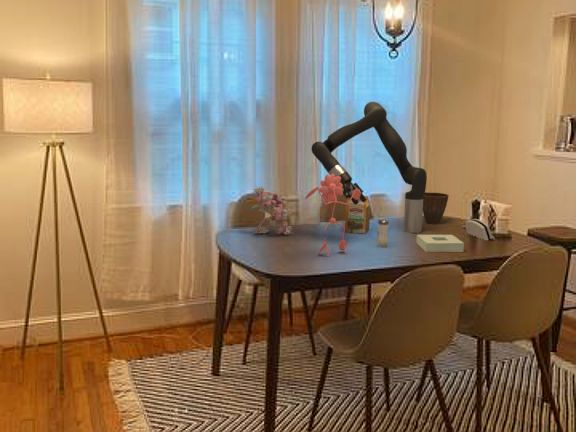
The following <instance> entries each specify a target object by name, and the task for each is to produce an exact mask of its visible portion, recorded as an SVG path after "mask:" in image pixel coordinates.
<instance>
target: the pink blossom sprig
mask: <svg viewBox="0 0 576 432" xmlns="http://www.w3.org/2000/svg"><path fill="white" fill-rule="evenodd" d="M340 181H341V177H340V176H337V177H335V175H334V174H332V175H329V173H328V174H325V175H324V179H321V180H320V183H319V184H320V186H321V187H320V188H319V186H316V187H314V188H312V189H311V191H309V192H308V193H307V194H306V196H305V197H304V200H307V199H309V198H310V197H312V195H314V194H315V193H316V192H317V191H318V194H319V195H320V198H321V201H322V202H323V204H324V205H329V204H333V203H334V204H333V207H332V213H331V218H330V219H329V221H328V223H327V225H326V226H325V228H324V230H326V229H327V228H328V226H329V224H331V225H334V224H336V223H337V224H339V225H340V226H343V233H342V240H340V242H339V244H338V249H340V250H341V251H342V252H343V251H344V254H345V255H347V250H346V247H347V245H348V243H347V240H345V237H344V236H345V224H342V223H340V222H338V221H337V220H336V218H334V217H333V216H334V213H335V208H336V205H337V203H338V204H342V205H345V206H346V205H348V204H349V202H350V201H351V199H352V198H354V199H356V200H357V199H358V198H359V197H360V195H361V193H360V191H359V190H357V189H356V190H354V191H353V192H352V197H351V198H350V200H349V202H348V203H347V204H346V203H345V202H342V201H338V196H344V194H343V191H342V189H341V188H342V187H343V185H342V184H341V183H340ZM325 199H326V201H327V202H325ZM323 239H324V241H323V242H324V243H323V245H322V246H320V248H321V249H319V251H318V255H320V254H321V253H322V252H323V251H324V249H325V251H326V255H327V257H328V256H329V257H330V255H329V254H330V253H329V250H328V247H327V245H328V241H326V238H323Z"/></svg>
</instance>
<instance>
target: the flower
mask: <svg viewBox="0 0 576 432" xmlns="http://www.w3.org/2000/svg"><path fill="white" fill-rule="evenodd" d="M265 190H266V189H265V187H263V186H259V187H258V186H255V188H254V189H253V193H254V194H255V197H254V203H261V204H254V205H253V206H252V208H251V209H256V208H259V210H258V212H263V213H262V216H261V219H260V222H259V223H258V226H257V227H256V229H255V230H254V232H253V233H256V234H261V233H267V232H268V233H269V232H270V230H269V229H268V228H270V227H276V226H277V222H278V223H281V222H282V225H283V226H282V225H280V224H278V231H277V233H278V234H282V233H283V234H284V235H285V234H286V235H285V236H288V235H290V233H291V234H292V235H293V234H294V232H291V231H292V229H293V226H291V225H289V226H288V221H286V220H287V219H288V217H290V215H292V214H293V213H292V212H291V211H290V209H289V207H288V206H285V205H287V203H288V198H287V196H284V195H283V193H280V194H279V195H278V194H277V193H271V194H270V193H269V192H268V191H265ZM262 201H263V202H262ZM271 209H272V210H273V212H271ZM270 217H271V218H270ZM284 219H285V220H284ZM265 221H268V222H269V224H268V225H267V226H265V227H262V225H264V223H265ZM268 233H267V234H268ZM287 234H288V235H287Z"/></svg>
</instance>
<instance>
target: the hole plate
mask: <svg viewBox="0 0 576 432" xmlns="http://www.w3.org/2000/svg"><path fill="white" fill-rule="evenodd" d="M416 244H417V245H418V246H419V247H420V248H421V249H422V250H424V252H426V253H464V247H465V243H464V242H463V241H462V240H460V239H459V238H458V237H456V236H455V235H454V234H416Z"/></svg>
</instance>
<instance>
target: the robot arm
mask: <svg viewBox="0 0 576 432" xmlns="http://www.w3.org/2000/svg"><path fill="white" fill-rule="evenodd" d="M363 115H364V116H363V117H362V118H361V119H358V120H357V121H355V122H353V123H349V124H347V125H344V126H342V127H340V128H338V129H336V130H335V131H333V132H332V133H330V134H329V135H328V136H327V139H326V140H324V141H316V142H314V143H313V144H312V145H311V153H312V154H313V155H314V157H315V158H316V160H318V161H319V162H320V163H321V164H322V167H323V169H325V171H326V172H327V173H328V175H329V176H330V175H332V174H334V175H335V177H337V176H340V177H341V181H340V183H341V184H342V185H343V187H342V188H341V189H342V191H343V196H344V198H346V199H348V198H349V199H350V198H351V197H352V192H353V191H354V190H356V189H357V190H359V191H360V193H361V195H360V197H359V198H360V199H361V201H362V202H363V203H364V202H365V201H366V200H367V199H366V198H365V197H364V196H365V195H364V194H363V193H364V190H363V189H362V188H361V186H359V185H358V183H357V182H354V183H353V182H352V180H353V177H352V176H351V175H350V174H349V172H348V171H347V170H346V169H345V168H344V166H343V165H341V163H340V162H339V161H338V160H337V158H336V157H335V156H334V155H333V154H332V152H334V151H335V150H336V149H337V148H339V147H340V146H342V145H343V144H345V143H346V142H348V141H349V140H351V139H353V138H354V137H356V136H358V135H360V134H362V133H363V132H365V131H368V130H370V129H372V128H374V130H375V132H376V134H377V135H378V137H379V140H380V141H381V143H382V145H383V147H384V149H385V150H386V152H387V153H388V155H389V157H390V158H391V159H392V161H393V163H394V164H395V166H396V168H397V170H398V173H400V176H401V178H402V180H403V182H405V184H407V185H411V189H410V190H409V191H407V192H405V194H404V195H405V196H404V211H403V212H404V214H403V232H404V233H410V234H418V233H419V234H420V233H422V231H423V230H422V229H423V216H424V214H423V197H424V194H425V193H426V190H427V181H428V179H427V178H428V177H427V175H428V174H427V172H426V170H425V169H424V168H421V167H417V166H413V165H412V164H411V162H410V161H409V158H408V157H407V154H408V152H407V151H408V149H407V145H406V144H405V142H404V140H403V138H402V137H401V135H400V134H399V132H397V130H396V129H395V127H393V125H392V124H391V123H390V121H389V120H388V119H387V115H388V114H387V110H386V109H385V108H384V107H383V105H381V104H380V103H379V102H376V101H369V102H367V103H366V104H365V105H364V108H363ZM351 200H352V202H353V203H354V204H355V205H356V204H358V203H359V201H358V200H356V199H354V198H352V199H351Z"/></svg>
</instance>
